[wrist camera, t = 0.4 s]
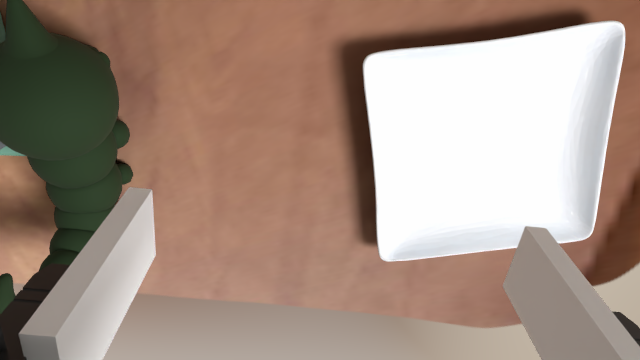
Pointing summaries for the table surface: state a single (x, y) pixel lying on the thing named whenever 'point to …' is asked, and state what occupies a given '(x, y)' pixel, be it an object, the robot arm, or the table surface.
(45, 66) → the toy figurine
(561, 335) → the robot arm
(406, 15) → the table surface
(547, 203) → the salad plate
